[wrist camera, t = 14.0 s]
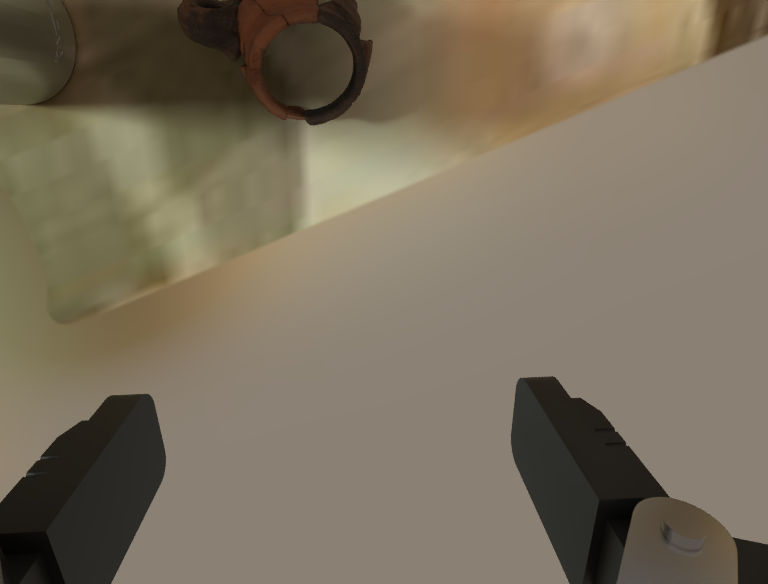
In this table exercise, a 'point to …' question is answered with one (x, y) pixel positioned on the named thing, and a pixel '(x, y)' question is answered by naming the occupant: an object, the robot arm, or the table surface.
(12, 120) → the table surface
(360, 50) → the pottery mug
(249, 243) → the table surface
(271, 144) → the table surface
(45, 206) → the table surface
